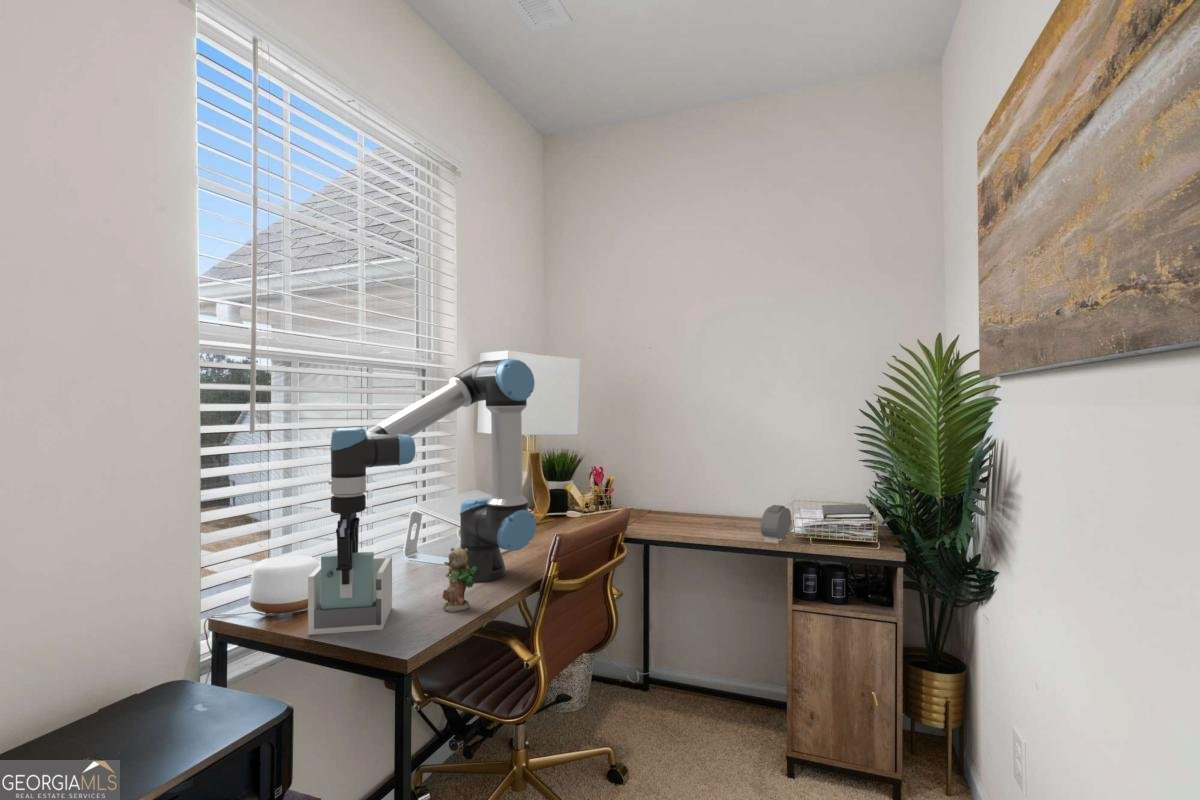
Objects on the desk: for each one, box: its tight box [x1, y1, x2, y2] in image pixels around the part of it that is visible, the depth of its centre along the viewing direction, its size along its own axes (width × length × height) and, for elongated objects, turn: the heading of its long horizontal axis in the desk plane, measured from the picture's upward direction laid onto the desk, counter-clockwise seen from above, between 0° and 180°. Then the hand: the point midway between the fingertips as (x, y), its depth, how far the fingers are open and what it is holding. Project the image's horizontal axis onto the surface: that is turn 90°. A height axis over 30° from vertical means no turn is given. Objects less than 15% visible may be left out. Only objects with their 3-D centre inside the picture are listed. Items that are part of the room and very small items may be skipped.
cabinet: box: [307, 555, 393, 636], centre depth 143 cm, size 16×15×13 cm
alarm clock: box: [759, 504, 792, 542], centre depth 227 cm, size 23×6×13 cm, turn 150°
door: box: [320, 551, 375, 609], centre depth 138 cm, size 11×4×12 cm, turn 101°
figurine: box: [442, 547, 478, 613], centre depth 152 cm, size 9×8×15 cm
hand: (348, 594), depth 139 cm, fingers closed on door, 2 cm apart
